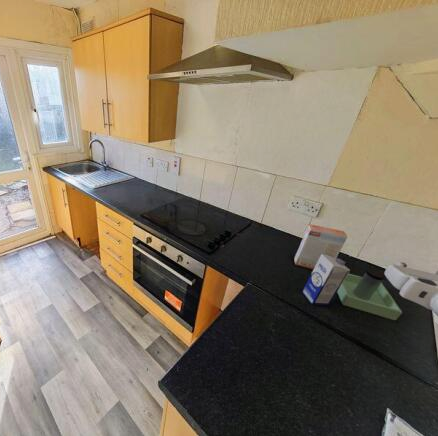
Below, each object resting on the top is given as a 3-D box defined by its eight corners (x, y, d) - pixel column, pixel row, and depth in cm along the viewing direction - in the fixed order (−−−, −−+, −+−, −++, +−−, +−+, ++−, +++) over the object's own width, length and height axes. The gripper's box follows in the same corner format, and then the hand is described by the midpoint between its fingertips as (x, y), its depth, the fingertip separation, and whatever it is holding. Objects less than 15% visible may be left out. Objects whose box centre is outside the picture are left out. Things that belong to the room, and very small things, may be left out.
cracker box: (325, 267, 112) (344, 230, 102) (328, 274, 107) (348, 237, 97) (293, 258, 117) (308, 223, 107) (294, 265, 112) (311, 228, 102)
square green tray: (375, 289, 99) (381, 282, 97) (395, 320, 85) (402, 312, 83) (331, 277, 105) (335, 270, 103) (342, 304, 90) (347, 296, 88)
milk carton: (301, 291, 96) (321, 253, 87) (317, 292, 96) (338, 254, 87) (312, 304, 90) (334, 265, 80) (329, 305, 90) (353, 266, 80)
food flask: (366, 293, 96) (381, 271, 90) (371, 302, 91) (388, 279, 86) (351, 288, 97) (365, 267, 92) (355, 297, 93) (370, 275, 87)
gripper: (518, 305, 54) (473, 270, 65) (406, 277, 61) (383, 251, 72) (497, 322, 57) (458, 286, 68) (393, 294, 64) (373, 266, 75)
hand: (419, 268), depth 70 cm, fingers open, 8 cm apart
